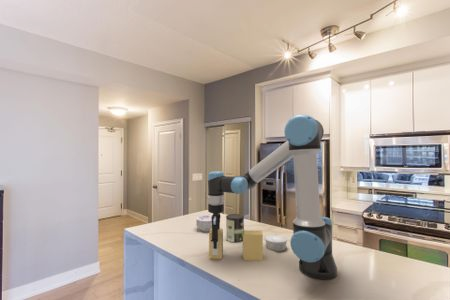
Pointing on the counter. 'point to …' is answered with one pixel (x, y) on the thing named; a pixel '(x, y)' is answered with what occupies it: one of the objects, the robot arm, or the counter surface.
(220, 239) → the stub
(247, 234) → the tall yellow box
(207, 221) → the paper bowls
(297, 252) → the robot arm
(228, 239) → the coffee can
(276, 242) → the ramekin
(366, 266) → the counter surface
